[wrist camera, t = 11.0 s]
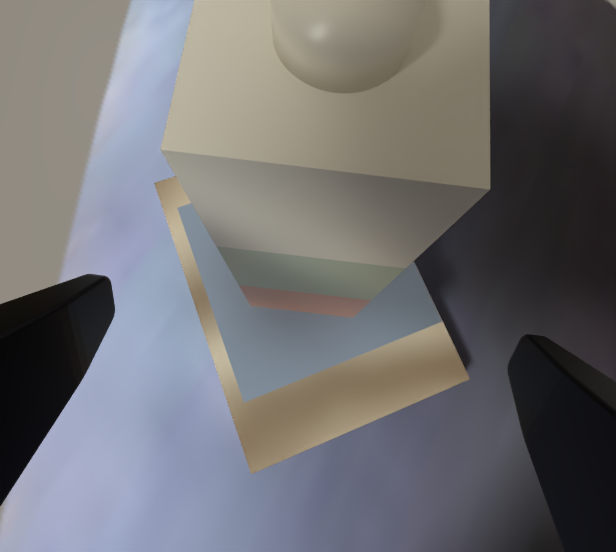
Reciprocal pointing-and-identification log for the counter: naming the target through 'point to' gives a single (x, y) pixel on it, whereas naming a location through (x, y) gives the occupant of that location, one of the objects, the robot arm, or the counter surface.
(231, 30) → the brick column
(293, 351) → the base brick
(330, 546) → the counter surface
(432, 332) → the board
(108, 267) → the counter surface
